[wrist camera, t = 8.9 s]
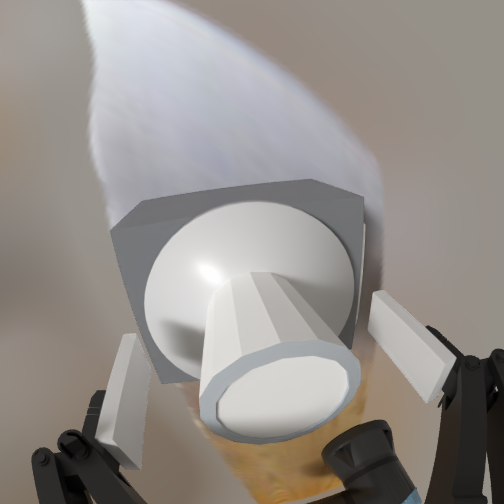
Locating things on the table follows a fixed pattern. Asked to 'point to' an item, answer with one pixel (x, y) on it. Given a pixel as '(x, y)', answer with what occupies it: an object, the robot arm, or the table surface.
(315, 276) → the dial scale
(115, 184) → the table surface
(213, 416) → the shot glass
